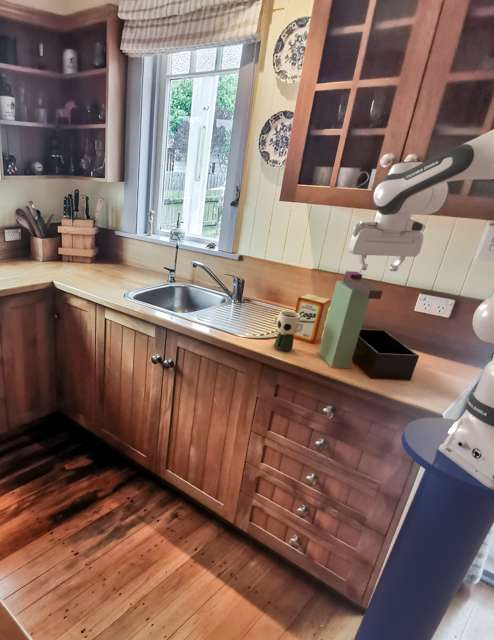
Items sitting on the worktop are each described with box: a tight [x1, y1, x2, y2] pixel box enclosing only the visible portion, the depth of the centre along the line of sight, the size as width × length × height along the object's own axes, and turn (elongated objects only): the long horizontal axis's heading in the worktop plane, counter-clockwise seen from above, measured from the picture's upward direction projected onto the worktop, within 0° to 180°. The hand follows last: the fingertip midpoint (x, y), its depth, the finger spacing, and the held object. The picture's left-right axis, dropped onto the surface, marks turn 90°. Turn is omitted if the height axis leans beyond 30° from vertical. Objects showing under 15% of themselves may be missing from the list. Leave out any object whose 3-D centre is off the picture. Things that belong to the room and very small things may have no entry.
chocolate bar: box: [342, 270, 383, 300], centre depth 142 cm, size 18×4×4 cm, turn 178°
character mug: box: [273, 310, 303, 352], centre depth 163 cm, size 11×7×13 cm, turn 40°
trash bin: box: [351, 328, 420, 381], centre depth 155 cm, size 22×13×9 cm, turn 178°
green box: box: [318, 280, 370, 369], centre depth 153 cm, size 12×6×26 cm, turn 178°
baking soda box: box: [293, 293, 332, 345], centre depth 173 cm, size 10×6×16 cm
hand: (377, 270), depth 140 cm, fingers open, 8 cm apart
